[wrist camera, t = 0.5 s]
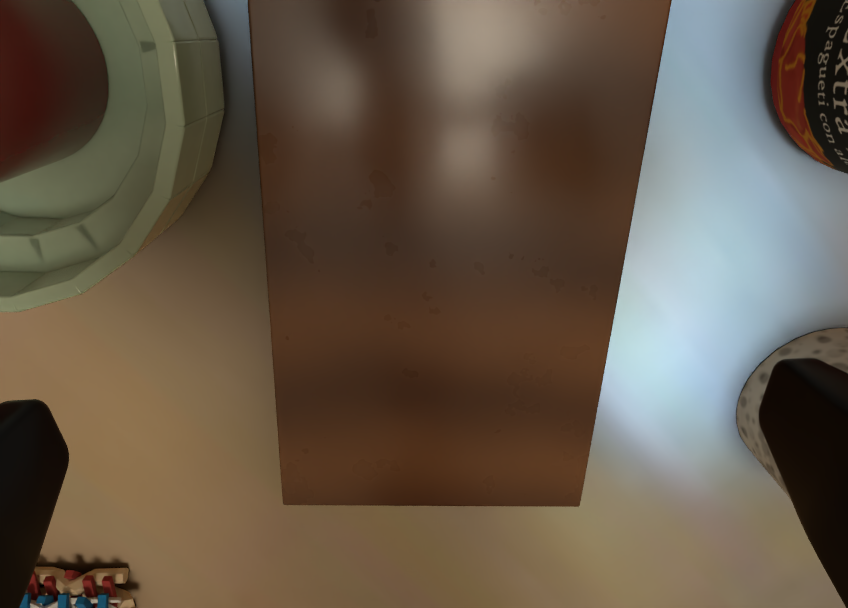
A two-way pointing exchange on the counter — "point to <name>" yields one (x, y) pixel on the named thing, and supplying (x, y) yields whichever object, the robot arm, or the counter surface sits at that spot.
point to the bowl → (118, 155)
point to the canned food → (814, 79)
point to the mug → (828, 346)
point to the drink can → (47, 84)
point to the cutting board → (446, 237)
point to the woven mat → (77, 589)
